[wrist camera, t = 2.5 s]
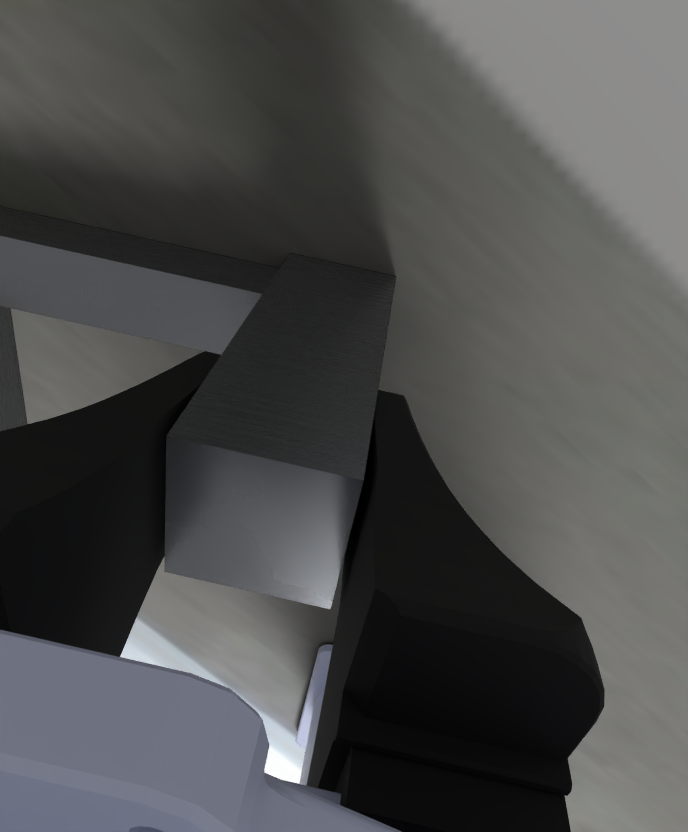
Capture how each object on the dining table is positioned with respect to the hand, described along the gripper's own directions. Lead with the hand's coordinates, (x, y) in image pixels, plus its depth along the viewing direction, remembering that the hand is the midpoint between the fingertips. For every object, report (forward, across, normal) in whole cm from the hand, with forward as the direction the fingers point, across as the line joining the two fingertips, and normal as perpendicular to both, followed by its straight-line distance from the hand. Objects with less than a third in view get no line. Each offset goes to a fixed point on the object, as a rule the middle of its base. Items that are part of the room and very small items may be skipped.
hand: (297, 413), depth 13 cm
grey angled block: (+5, 0, 0) cm, 5 cm away
